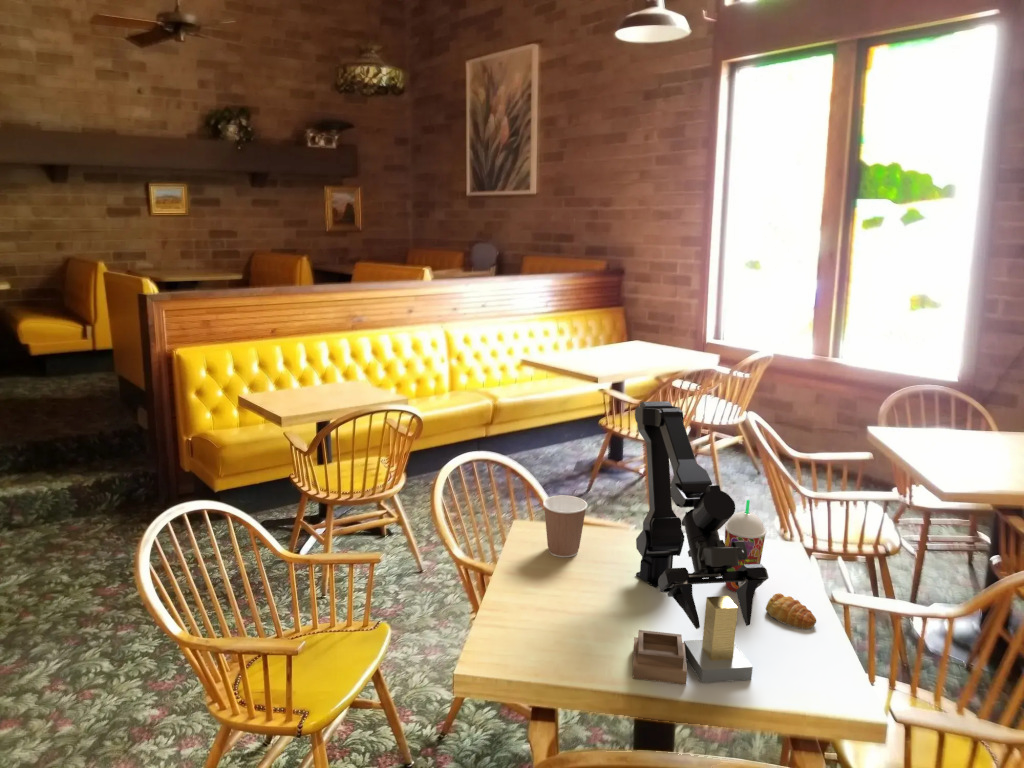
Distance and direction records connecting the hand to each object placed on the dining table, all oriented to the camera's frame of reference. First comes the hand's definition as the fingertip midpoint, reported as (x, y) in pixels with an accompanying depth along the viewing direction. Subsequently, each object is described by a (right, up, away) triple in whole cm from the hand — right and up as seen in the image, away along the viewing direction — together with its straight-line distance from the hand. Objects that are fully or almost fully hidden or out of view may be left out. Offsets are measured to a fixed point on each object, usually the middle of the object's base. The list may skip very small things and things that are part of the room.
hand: (723, 626), depth 132 cm
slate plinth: (0, -8, +3) cm, 9 cm away
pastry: (+19, -5, +20) cm, 28 cm away
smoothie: (+12, -2, +32) cm, 34 cm away
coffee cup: (-25, +3, +47) cm, 53 cm away
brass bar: (0, -6, +3) cm, 6 cm away
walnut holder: (-11, -8, +3) cm, 14 cm away
